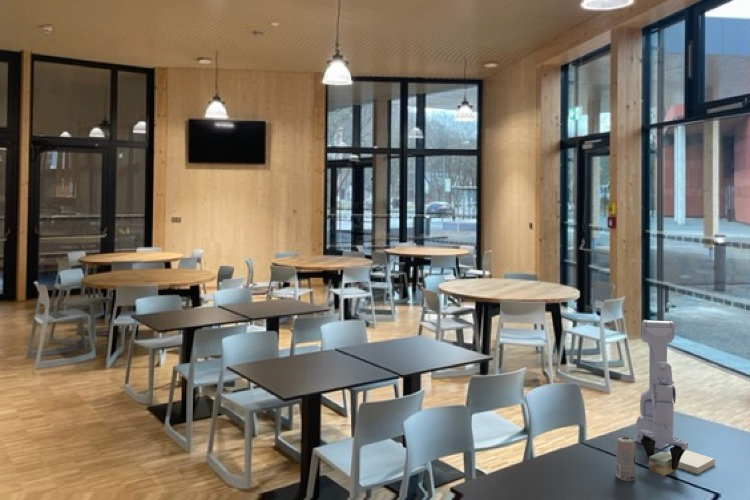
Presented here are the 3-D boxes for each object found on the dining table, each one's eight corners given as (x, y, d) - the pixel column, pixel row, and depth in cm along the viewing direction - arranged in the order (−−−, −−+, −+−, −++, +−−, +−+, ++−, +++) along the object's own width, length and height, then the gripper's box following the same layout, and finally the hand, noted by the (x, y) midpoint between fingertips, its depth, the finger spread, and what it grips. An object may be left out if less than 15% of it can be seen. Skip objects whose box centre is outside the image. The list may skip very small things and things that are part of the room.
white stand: (659, 461, 197) (659, 455, 197) (677, 453, 203) (677, 447, 203) (697, 474, 187) (697, 467, 187) (714, 464, 194) (714, 458, 194)
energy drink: (634, 475, 187) (634, 436, 186) (635, 482, 182) (635, 443, 181) (615, 473, 189) (615, 435, 188) (616, 480, 184) (616, 441, 183)
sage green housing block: (648, 470, 190) (649, 456, 190) (660, 465, 195) (661, 451, 194) (664, 476, 186) (664, 461, 186) (676, 470, 190) (676, 456, 190)
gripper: (634, 418, 193) (633, 460, 194) (679, 431, 181) (679, 476, 182) (646, 414, 197) (646, 455, 198) (691, 426, 185) (691, 470, 186)
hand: (662, 465), depth 190 cm, fingers open, 7 cm apart
